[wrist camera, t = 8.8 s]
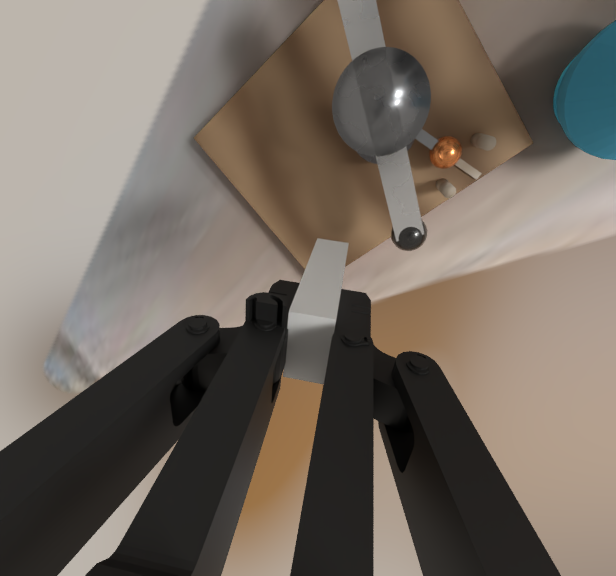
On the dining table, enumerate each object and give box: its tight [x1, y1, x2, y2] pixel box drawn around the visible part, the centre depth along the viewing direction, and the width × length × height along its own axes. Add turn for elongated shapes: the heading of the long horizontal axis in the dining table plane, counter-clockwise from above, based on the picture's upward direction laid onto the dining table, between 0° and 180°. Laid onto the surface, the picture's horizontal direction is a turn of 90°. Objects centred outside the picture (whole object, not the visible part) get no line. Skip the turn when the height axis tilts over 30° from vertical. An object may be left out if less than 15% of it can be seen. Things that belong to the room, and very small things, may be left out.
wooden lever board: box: [194, 0, 533, 269], centre depth 29 cm, size 22×18×5 cm
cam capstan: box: [332, 0, 462, 251], centre depth 24 cm, size 21×8×7 cm, turn 19°
